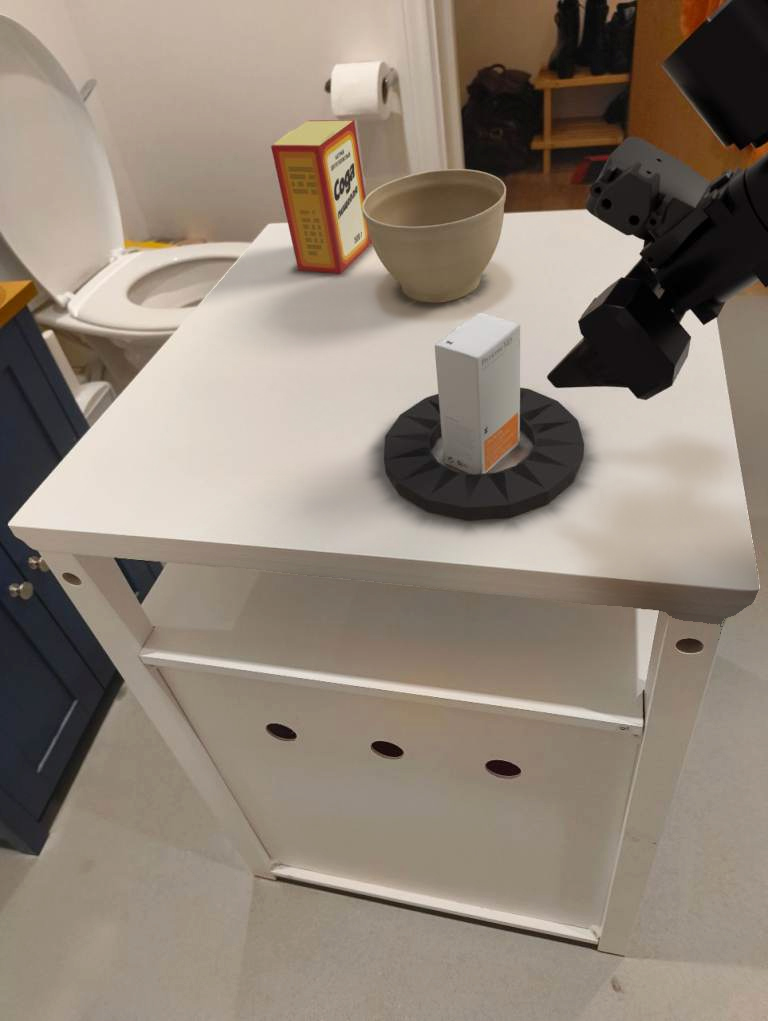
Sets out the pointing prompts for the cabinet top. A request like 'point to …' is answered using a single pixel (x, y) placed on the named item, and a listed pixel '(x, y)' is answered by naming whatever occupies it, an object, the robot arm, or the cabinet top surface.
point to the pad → (488, 492)
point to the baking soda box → (323, 194)
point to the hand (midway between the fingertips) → (575, 348)
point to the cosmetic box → (479, 392)
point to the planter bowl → (436, 230)
